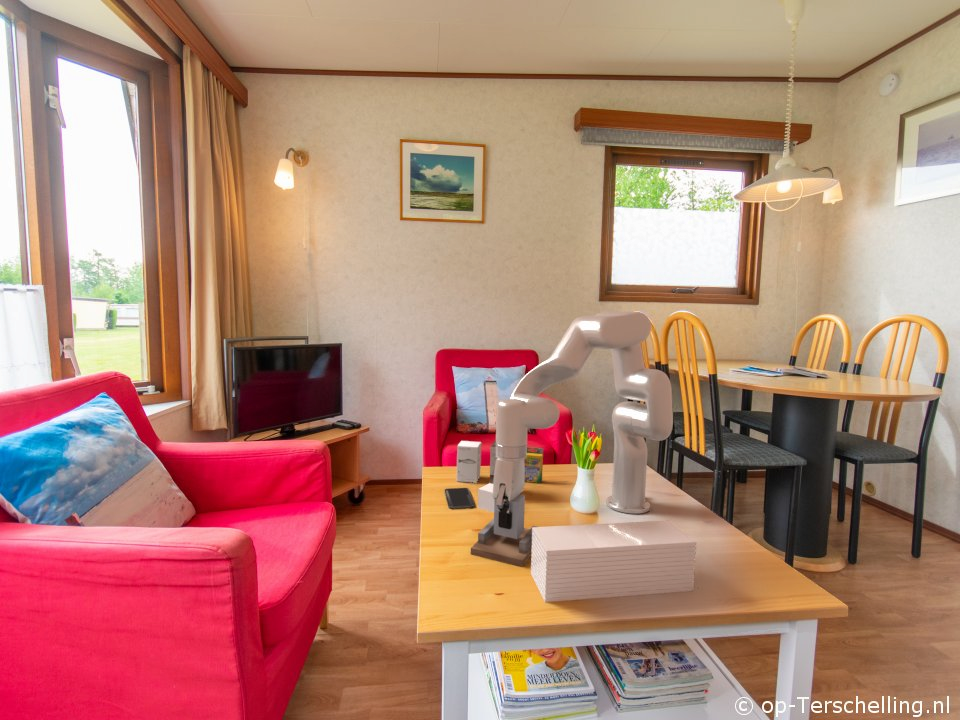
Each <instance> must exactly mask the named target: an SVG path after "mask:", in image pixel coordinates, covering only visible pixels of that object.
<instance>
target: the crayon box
mask: <svg viewBox="0 0 960 720" xmlns="http://www.w3.org/2000/svg"><path fill="white" fill-rule="evenodd" d="M532 450H534V451H532ZM543 458H544V448H542V447H529V446H527V457H526V458H525V459H524V465H525V481H524V483H531V482H537V483H536V484H540V483H541V482H543V466H544V465H543V464H544V463H543V462H544V460H543ZM541 484H542V483H541Z"/></svg>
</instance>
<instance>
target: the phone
mask: <svg viewBox="0 0 960 720" xmlns="http://www.w3.org/2000/svg"><path fill="white" fill-rule="evenodd" d="M444 494H445V495H444V496H445V499H446V503H447V507H448V509H449V510H465V509H466V508H470V509H474V508H475V507H476V503H475V501H474V498H473V497H472V494H471V491H470V488H468V487H456V488H450V487H449V488H448V487H447V488H445V489H444Z"/></svg>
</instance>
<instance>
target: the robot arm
mask: <svg viewBox="0 0 960 720" xmlns="http://www.w3.org/2000/svg"><path fill="white" fill-rule="evenodd" d="M651 330H652V323H651V320H650V318H649V317H648V315H646V314H645V313H644V312H641V311H619V310H618V311H617V310H616V311H614V310H613V311H600V312H598V313H595V315H581V316H578V317H575V319H573V320H572V322H571V323H570V325H569V327H568V328H567V329H566V331H565V332H564V334H563V336H562V338H561V339H560V341H559V342H558V344H557V345H556V347H555V348H554V350H553V352H552V353H551V355H550V356H549V357H548V358H547V359H545V360H544V361H541V363H539V364H538V365H537V366H535V367H533V369H531V370H530V371H528V373H526V374H524V376H523V377H522V378H521V379H520V381H519V382H518V383H517V385H516V387H514V390H513V391H512V392H511V395H510V396H509V398H504V399H500V400H499V401H498V402H497V404H496V415H495V417H496V421H495V422H496V423H495V424H496V425H495V440H496V457H497V459H496V464H495V471H494V482H493V498H494V499H497V502H496V505H497V506H498V512H499V519H498V526H499V527H501V528H505V529H511V528H512V513H511V512H510V511H511V502H512V500H514V499H515V498H516V497H517V496H518V495H519V494H520V495H522V492H523V491H524V488H525V482H524V481H525V465H524V459H525V458H526V457H527V447H528V430H529V429H535V430H536V429H537V430H538V429H539V430H544V429H549V428H552V427H553V426H554V425H555V424H556V423H557V422H558V420H559V418H560V409H559V406H558V405H557V403H555V402H554V401H553V400H552V399H549V398H546V397H541V396H539V395H540V394H541V393H543V392H544V390H546V389H547V388H549V387H551V386H553V385H555V384H559V383H562V382H566V381H568V380H571V379H574V378H575V377H578V375H579V373H580V372H581V371H582V369H583V367H584V365H585V364H586V362H587V360H588V359H589V357H590V355H592V352H593V351H594V350H595V349H597V350H598V349H600V350H609V351H610V353H611V357H612V368H613V379H614V387H615V388H614V389H615V392H616V394H617V395H618V396H619V397H620V398H623V399H628V400H632V401H622V402H619V403H618V404H616V405H615V407H614V408H613V410H612V414H611V423H612V429H613V430H612V431H613V438H614V439H613V440H614V442H613V444H614V445H613V467H612V468H613V469H612V485H611V486H612V488H611V489H612V490H611V492H612V493H611V495H610V496H608V497H607V498H606V505H607V506H608V507H609V508H610V509H612V510H615V511H618V512H620V513H625V514H632V515H633V514H636V515H637V514H639V515H640V514H644V513H647V512H649V511H650V510H651V504H650V503H649V501H647V500H646V486H647V467H648V465H647V464H648V446H647V442H646V440H645V439H649V440H652V441H665V440H667V439H668V438H669V437H670V436H671V434H672V431H673V425H674V413H673V411H674V409H673V393H672V391H673V390H672V383H671V381H670V378H669V377H668V375H667V373H665V372H664V371H662V370H659V369H657V368H655V369H654V368H647V367H646V366H645V362H644V354H643V349H642V346H641V343H643V342H645V341H646V340H647V339H648V337H649V336H650V334H651V332H652V331H651ZM637 401H638V402H637ZM642 402H643V403H642ZM645 403H646V404H645ZM505 497H508V499H504V498H505ZM504 502H508V506H506V504H504Z"/></svg>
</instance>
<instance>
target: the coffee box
mask: <svg viewBox="0 0 960 720" xmlns="http://www.w3.org/2000/svg"><path fill="white" fill-rule="evenodd" d="M489 453H490V454H489V455H490V458H489V459H490V460H489V461H490V462H489V483H491V484H493V482H494V471H495V464H496V459H497V457H496V439H495V440H494V441H493V443H492V444H491V446H490V452H489Z"/></svg>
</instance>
